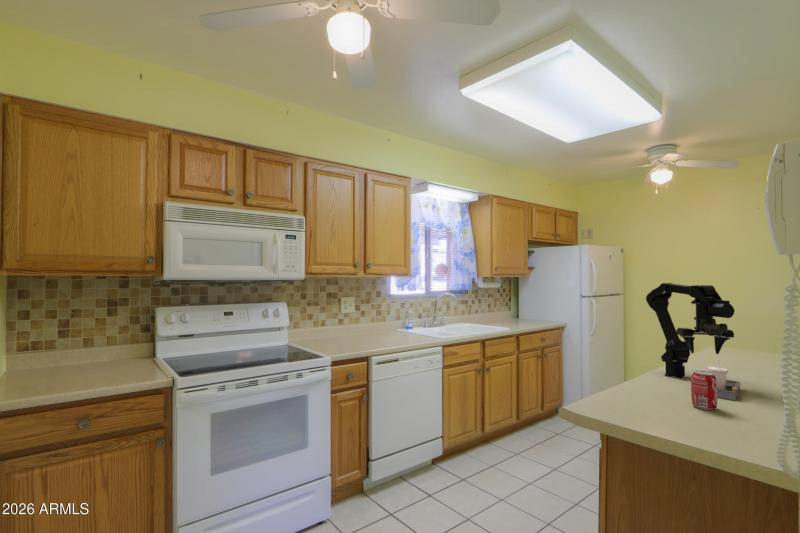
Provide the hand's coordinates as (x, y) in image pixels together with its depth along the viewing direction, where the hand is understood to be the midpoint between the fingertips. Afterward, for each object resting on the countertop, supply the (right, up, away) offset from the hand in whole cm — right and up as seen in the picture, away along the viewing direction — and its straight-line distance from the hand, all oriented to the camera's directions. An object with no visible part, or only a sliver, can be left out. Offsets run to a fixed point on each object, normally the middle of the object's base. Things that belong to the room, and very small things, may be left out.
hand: (704, 353), depth 163 cm
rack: (-1, -13, -9) cm, 16 cm away
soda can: (-22, -13, -28) cm, 38 cm away
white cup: (-5, -13, -13) cm, 19 cm away
